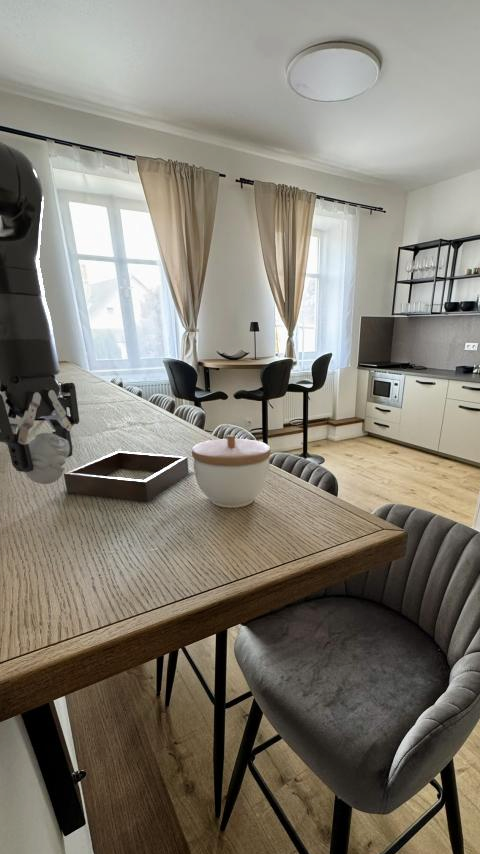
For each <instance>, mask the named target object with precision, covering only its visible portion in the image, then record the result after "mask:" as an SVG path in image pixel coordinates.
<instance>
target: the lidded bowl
mask: <svg viewBox="0 0 480 854" xmlns="http://www.w3.org/2000/svg"><path fill="white" fill-rule="evenodd" d="M226 437H227V438H217V439H210V440H205V441H203V442H199V443H197V444H195V445H193V447H192V448H191V456H192V461H193V471H194V475H195V479H196V482H197V485H198V487H199V489H200V490H201V492H202V494H204V496H206V497H207V498H208V499H209V500H211V503H212V504H213V505H215V506H218V507H220V508H228V509H234V508H242V507H246V506H249V505H251V504H252V503H254V501H255V499H256V498H257V497H258V496H259V495H260V494H261V493H262V492H263V490H264V488H265V486H266V484H267V482H268V477H269V472H270V456H271V447H270V446H269V444H267V443H265V442H263V441H259V440H254V439H246V438H236V435H234V434H228V435H227V436H226Z"/></svg>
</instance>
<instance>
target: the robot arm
mask: <svg viewBox="0 0 480 854" xmlns="http://www.w3.org/2000/svg"><path fill="white" fill-rule="evenodd" d="M43 210H44V190H43V185H42V181H41V179H40V176H39V173H38V171H37V170H36V167H35V165H34V164H33V162H32V161H31V160H30V159H29V157H28V156H27V154H25V153H24V152H23V151H21V150H19V149H18V148H16V147H15V146H12V145H9V144H7V143H4V142H3V141H2V142H1V141H0V443H4V444H6V445H7V448H8V453H9V456H10V460H11V464H12V466H13V468H14V469H15V470H16V471H17V472H20V473H21V472H22V473H25V472H30V471H32V470H33V469H34V468H33V463H32V458H31V454H30V449H29V444H28V442H27V439H28V436H29V431H30V429H32V428H33V426H34V424H35V420H38V419H40V418H42V419H43V420H45V421H46V422H47V423H48V425H49V426H50V427H51V429H52V432H51V433H52V434H55V435H57V436H59V437H62V438H64V439H66V440H68V442H69V447H70V451H69V455H68V458H69V457H72V456H73V447H74V446H73V441H72V438H71V437H72V435H71V431H72V428H73V426H74V425H78V424H79V423H80V413H79V406H78V397H77V390H76V385H75V383H74V382H69V381H68V382H67V381H66V382H65V381H57V378H56V376H57V375H59V374H60V372H61V369H60V364H59V357H58V352H57V347H56V341H55V334H54V329H53V324H52V323H53V322H52V318H51V315H50V310H49V308H48V305H47V301H46V297H45V290H44V285H43V278H42V273H41V268H40V260H39V258H40V245H41V231H42V218H43V212H44V211H43ZM68 409H69V414H68ZM17 417H18V418H17Z"/></svg>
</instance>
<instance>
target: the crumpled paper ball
mask: <svg viewBox="0 0 480 854" xmlns="http://www.w3.org/2000/svg"><path fill="white" fill-rule="evenodd" d="M34 437H35V438H34V439H32V440H30V441H29V442H27V444H29V449H30V454H31V458H32V463H33V468H34V469H33V470H32V471H30V472H24V473H25V476H26V477H27V478H28V479H29V480H31V481H32V482H33V483H36V484H39V485H40V484H41V485H49V484H53V483H55V482H56V481H58V480H60V479H61V477H62V476H63V475H64V473H65V464H66V462H67V459H68V458H69V457H68V455H69V451H70V447H69V442H68V440H66V439H64V438H62V437H59V436H57V435H55V434H53V433H52V432H41V433H38V434H36V436H34Z"/></svg>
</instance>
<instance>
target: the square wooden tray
mask: <svg viewBox="0 0 480 854" xmlns="http://www.w3.org/2000/svg"><path fill="white" fill-rule="evenodd" d="M119 470H130V471H142V472H153V473H154V474H152V475H151V476H149V477H147V478H145V479H144V480H143V479H136V478H135V479H134V478H126V477H117V476H115V477H114V476H109V475H111V474H113V473H115V472H117V471H119ZM189 474H190V473H189V458H188V457H187V456H180V455H179V456H178V455H177V456H176V455H167V454H166V455H165V454H155V453H143V452H131V451H119V450H118V451H115V452H112V453H110V454H108V455H105V456H103V457H100V458H98V459H95V460H93V461H90V462H88V463H86V464H84V465H80V466H78V467H76V468H73V469H72V470H69V471H67V472H63V479H64V483H65V488H66V493H68V494H74V495H75V494H78V495H85V496H93V497H101V498H111V499H119V500H121V499H122V500H129V501H138V502H146V503H148V502H150V501H151V500H153V499H154V498H155V497H157V496H159V495H160V494H162V493H163V492H164V491H166V490H168V489H169V488H170V487H172V486H173V485H175V484H176V483H178V482H179V481H180V480H182V479H184V478H185V477H187V476H188V475H189Z"/></svg>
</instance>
